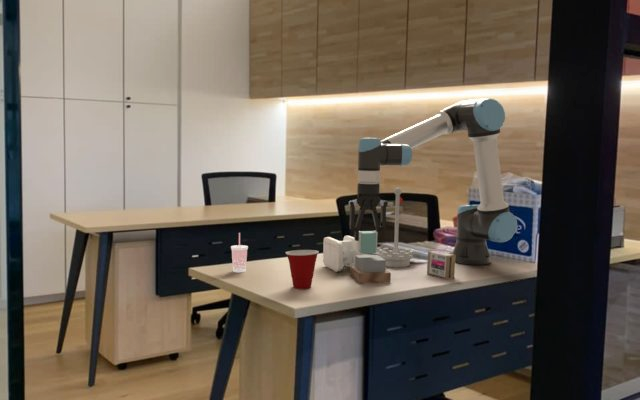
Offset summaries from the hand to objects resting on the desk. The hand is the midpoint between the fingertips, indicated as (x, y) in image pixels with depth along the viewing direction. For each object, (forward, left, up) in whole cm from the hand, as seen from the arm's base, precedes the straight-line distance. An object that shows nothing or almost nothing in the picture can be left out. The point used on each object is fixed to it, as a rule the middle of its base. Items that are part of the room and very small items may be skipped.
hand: (366, 249), depth 212 cm
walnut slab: (-1, 0, -11) cm, 11 cm away
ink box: (-28, -2, -11) cm, 30 cm away
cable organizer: (+5, -17, -11) cm, 21 cm away
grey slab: (-1, 0, -7) cm, 7 cm away
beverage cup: (+43, -17, -10) cm, 47 cm away
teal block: (0, 0, -1) cm, 1 cm away
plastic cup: (+24, +9, -10) cm, 28 cm away
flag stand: (-18, -24, -10) cm, 32 cm away
